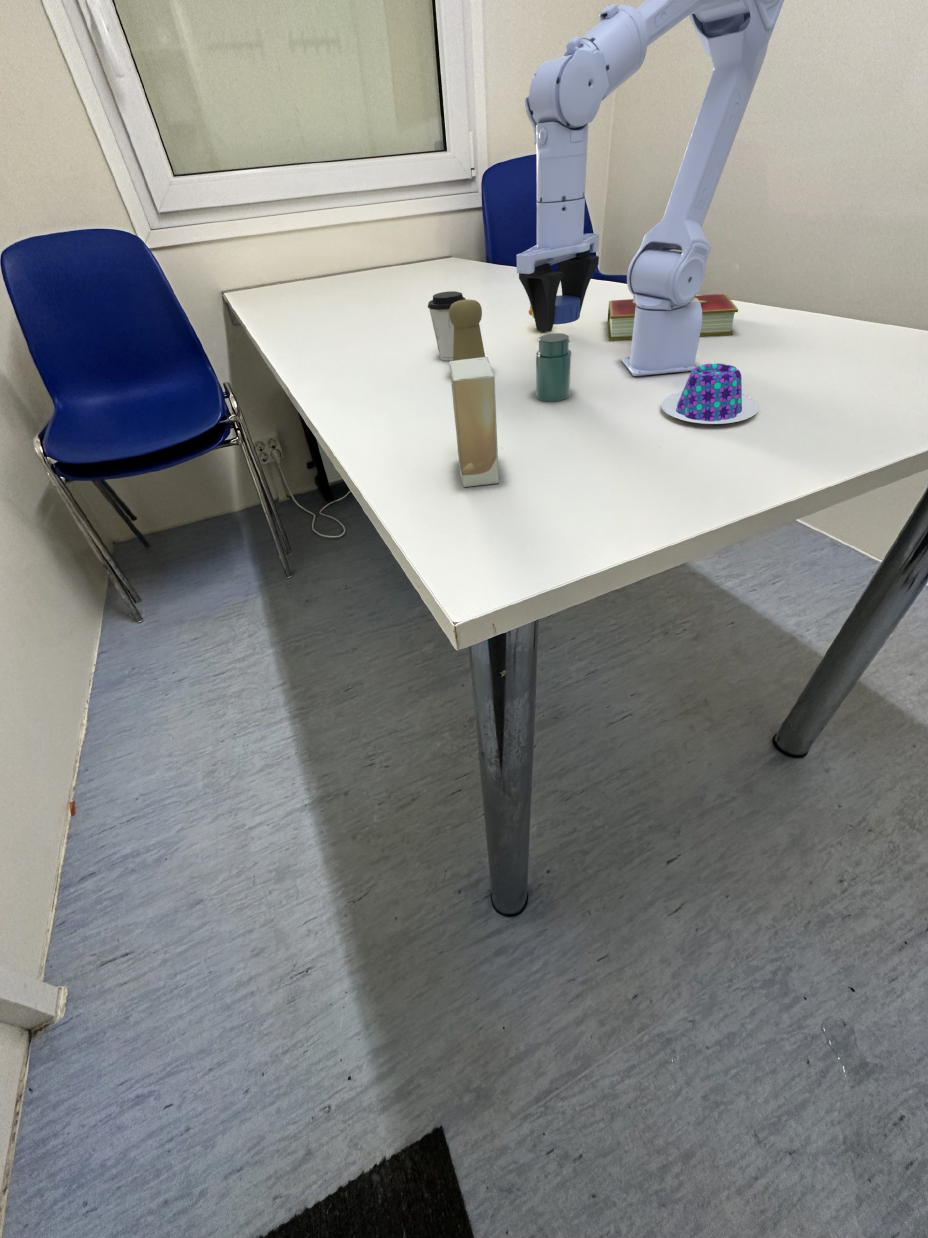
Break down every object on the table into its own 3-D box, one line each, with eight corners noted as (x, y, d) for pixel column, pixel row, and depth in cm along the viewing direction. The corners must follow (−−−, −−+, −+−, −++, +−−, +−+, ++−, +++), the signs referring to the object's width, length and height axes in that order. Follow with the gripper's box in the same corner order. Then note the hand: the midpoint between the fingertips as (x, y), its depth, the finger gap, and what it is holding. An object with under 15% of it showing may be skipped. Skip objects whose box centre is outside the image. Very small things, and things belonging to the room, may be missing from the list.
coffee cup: (427, 361, 99) (419, 299, 92) (443, 350, 103) (436, 289, 97) (462, 363, 96) (457, 299, 90) (476, 350, 101) (472, 289, 94)
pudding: (726, 389, 77) (735, 349, 74) (776, 420, 68) (789, 377, 65) (645, 401, 76) (650, 362, 73) (685, 435, 67) (693, 392, 64)
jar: (565, 387, 83) (567, 330, 78) (572, 399, 79) (575, 340, 74) (533, 391, 83) (532, 334, 78) (539, 403, 79) (539, 344, 74)
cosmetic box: (458, 464, 67) (448, 359, 59) (493, 460, 67) (487, 354, 59) (462, 489, 62) (451, 378, 54) (500, 484, 62) (494, 373, 54)
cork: (484, 380, 89) (480, 304, 81) (448, 381, 90) (441, 306, 83) (491, 367, 93) (487, 294, 86) (456, 368, 94) (450, 296, 87)
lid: (537, 325, 72) (537, 307, 70) (536, 314, 76) (536, 296, 74) (581, 322, 71) (581, 303, 70) (578, 311, 75) (578, 293, 74)
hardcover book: (607, 322, 107) (609, 298, 104) (720, 316, 103) (725, 291, 101) (608, 340, 99) (610, 314, 96) (732, 334, 95) (738, 307, 92)
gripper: (550, 208, 59) (548, 342, 68) (623, 190, 66) (612, 314, 75) (501, 208, 63) (505, 335, 72) (575, 191, 70) (570, 309, 79)
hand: (557, 324), depth 74 cm, fingers closed on lid, 5 cm apart
